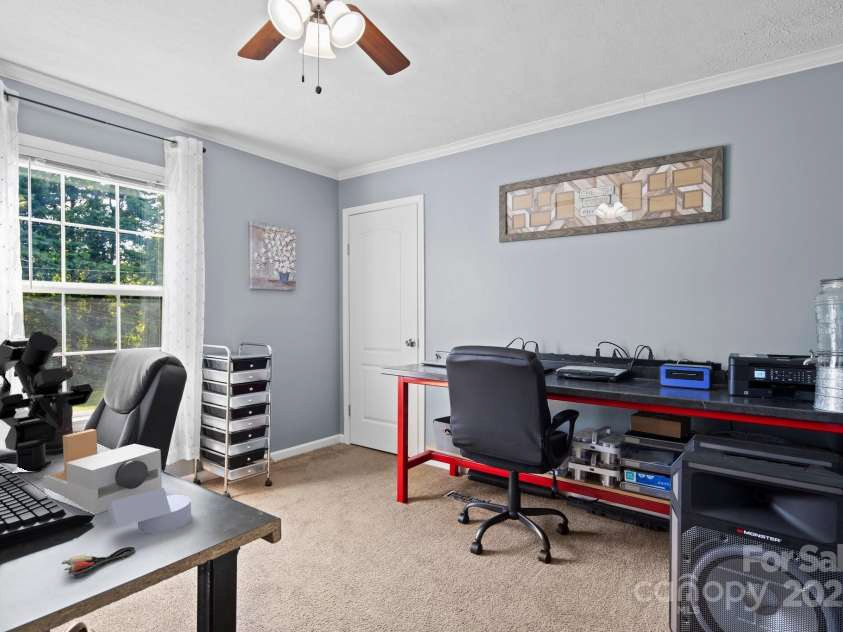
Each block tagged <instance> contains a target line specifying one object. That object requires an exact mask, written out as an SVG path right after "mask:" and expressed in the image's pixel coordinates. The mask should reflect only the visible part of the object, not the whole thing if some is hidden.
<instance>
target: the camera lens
mask: <svg viewBox="0 0 843 632" xmlns="http://www.w3.org/2000/svg"><path fill="white" fill-rule="evenodd" d="M73 429H74V428H73V406H71V405H68V403H66V405H65V407H64V409H63V426H62V428H58V429H57V428H56V432H55V438H54V442H48V443H45V455H46V457H47V456H49V457H51V456H57V455H61V454H64V452H63V436H64V435H68V434H73V433H74V430H73Z"/></svg>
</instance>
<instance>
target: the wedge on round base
mask: <svg viewBox="0 0 843 632" xmlns="http://www.w3.org/2000/svg"><path fill="white" fill-rule="evenodd" d="M191 500H192V499H191V497H190V496H188V495H185V494H171V495H170V494H169V495H167V494H166V490H165V488H164V487H162V488H160V489H156V490H152V491H148V492H144V493H140V494H137V495H133V496H129V497H125V498H121V499H117V500H113V501H111V503H110V506H109V509H108V510H107V513H108V515H109V516H110V519H111V520H112V521H113V524H114V526H115V527H116V529H118V528H119V529H120V528H123V527H126V526H129V525H133V524H135V523H137V530H138V531H139V532H140V533H143V534H160V533H167V532H171V531H173V530H176V529H179V528H180V526H181V527H183V526H184V524H185V523H186V524H187V523H189V522H190V520H191V519H192V504H191V503H192V502H191ZM190 518H191V519H190ZM188 521H189V522H188ZM186 524H185V525H186ZM182 525H183V526H182ZM178 527H179V528H178Z"/></svg>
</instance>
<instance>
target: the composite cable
mask: <svg viewBox="0 0 843 632" xmlns="http://www.w3.org/2000/svg"><path fill="white" fill-rule="evenodd" d="M135 551H136V548H135V547H134V546H125V547H122V548H120V549H117V550H116V551H114V552H113V553H111V554H110V555H108V556H103V557H98V556H93V555H89V556H87V555H85V554H83V555H75V556H72V557H70V558H69V559H67V560H63V561H62V562H61V565H68V566H69V567H64V569H63V570H64V571H68V574H70V573H73V578H74V579H80V578H82V577H84V576H86V575H88V574H89V575H90V573H92V572H94V571H96V570H98V569H99V568H102V567H104V566H105V565H108V564H111V563H113V562H117V561H119V560H123V559H126V558H128V557H130V556H132V555H133V554H135Z"/></svg>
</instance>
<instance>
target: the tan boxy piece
mask: <svg viewBox="0 0 843 632" xmlns="http://www.w3.org/2000/svg"><path fill="white" fill-rule="evenodd" d="M97 434H98V433H97V429H94V428H93V429H92V428H90V429H85V430H82V431H78V432H73V434H68V435H64V436H63V452H64V453H63V467H64V469H63V470H64V471H60V472H55V473H53V474H50V476H53V477H56V478H59V479H62V480H65V481H67V468H66V463H67V462H70V461H74V460H78V459H81V458H85V457H88V456H92V455H96V454H98V440H97V439H98V437H97V436H98V435H97Z"/></svg>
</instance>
